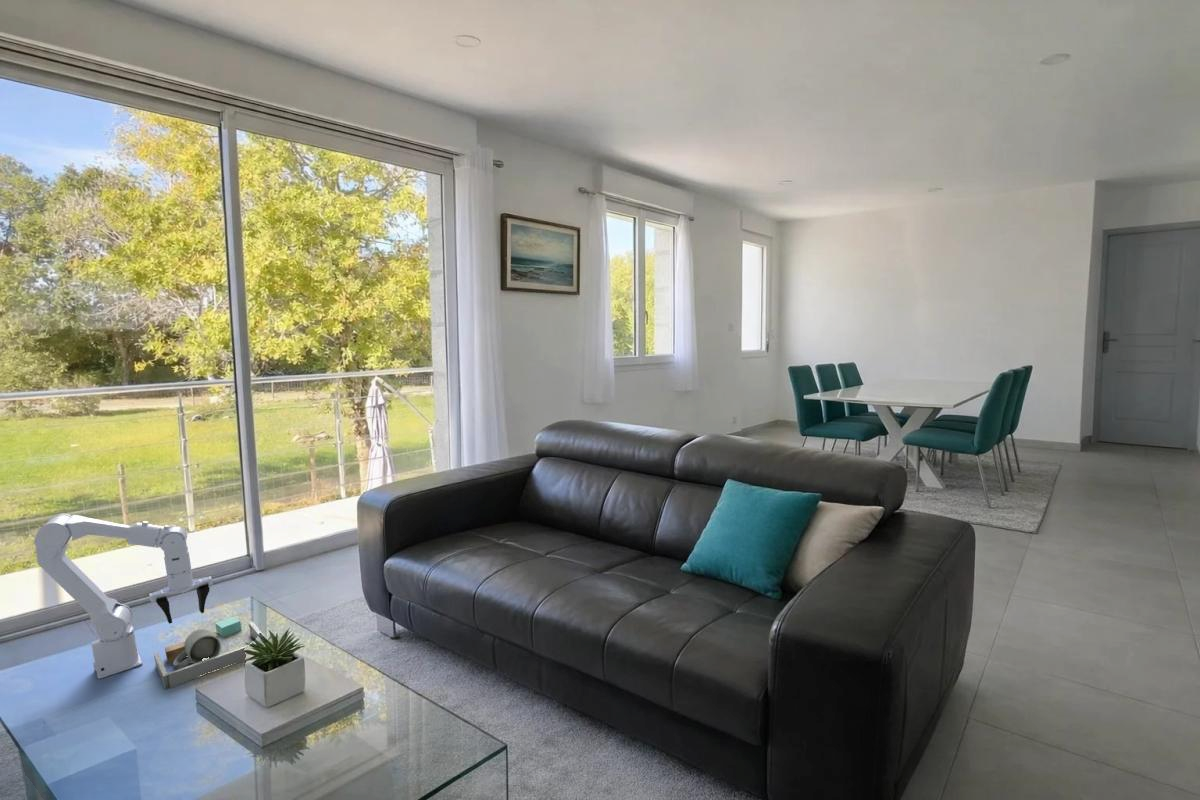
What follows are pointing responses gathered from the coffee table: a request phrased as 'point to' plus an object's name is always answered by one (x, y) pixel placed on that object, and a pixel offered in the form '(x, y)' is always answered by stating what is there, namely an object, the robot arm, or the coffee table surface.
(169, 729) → the coffee table surface
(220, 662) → the frame
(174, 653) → the brown wooden block
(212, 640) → the ceramic mug
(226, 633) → the turquoise cube box
